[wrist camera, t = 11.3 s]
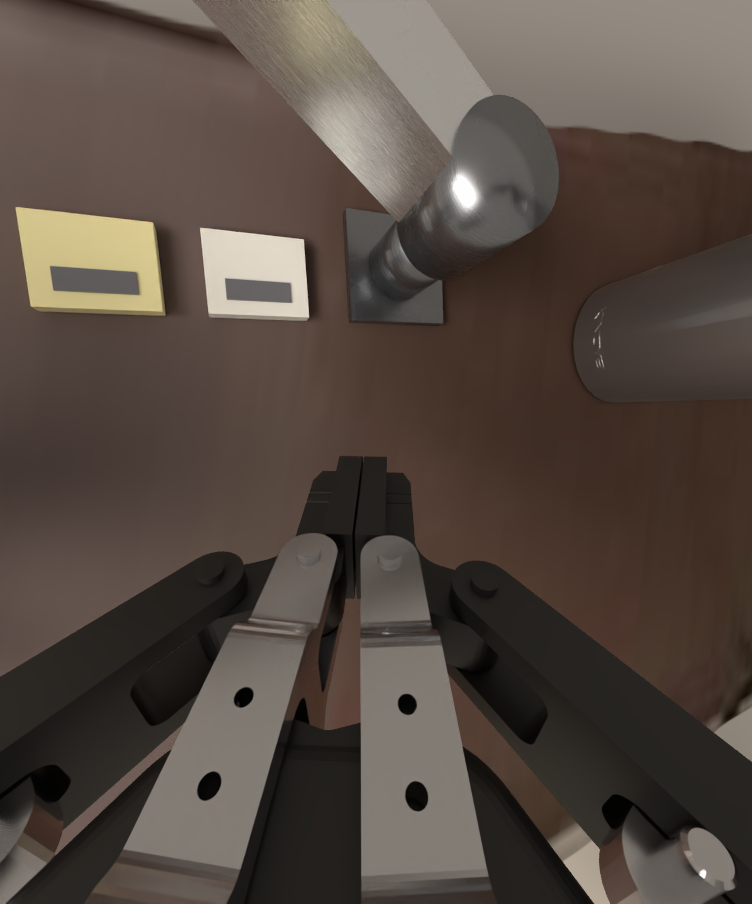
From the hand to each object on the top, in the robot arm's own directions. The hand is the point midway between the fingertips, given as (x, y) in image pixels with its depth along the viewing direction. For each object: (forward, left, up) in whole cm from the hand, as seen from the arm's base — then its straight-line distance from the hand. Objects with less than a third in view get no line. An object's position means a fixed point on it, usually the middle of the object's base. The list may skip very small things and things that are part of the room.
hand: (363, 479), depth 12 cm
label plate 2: (+2, -9, -10) cm, 14 cm away
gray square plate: (-6, -10, -10) cm, 16 cm away
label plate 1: (+9, -9, -10) cm, 16 cm away
